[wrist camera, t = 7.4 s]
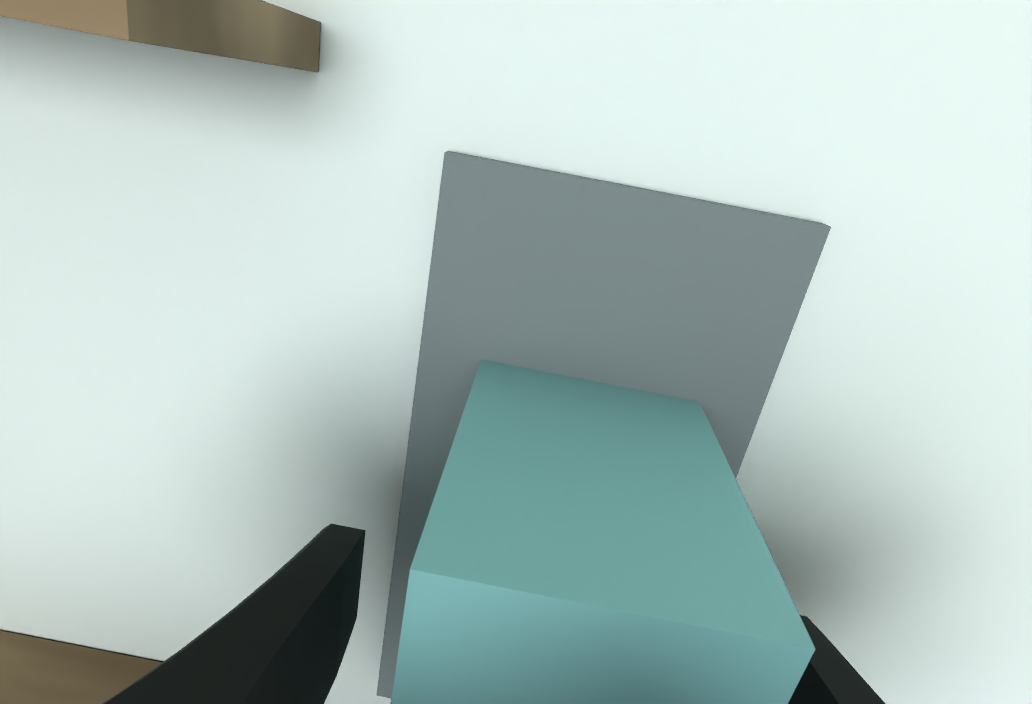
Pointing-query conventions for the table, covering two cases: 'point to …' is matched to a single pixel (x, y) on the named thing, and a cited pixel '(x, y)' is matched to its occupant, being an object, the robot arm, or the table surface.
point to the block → (592, 558)
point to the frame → (182, 25)
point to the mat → (593, 310)
